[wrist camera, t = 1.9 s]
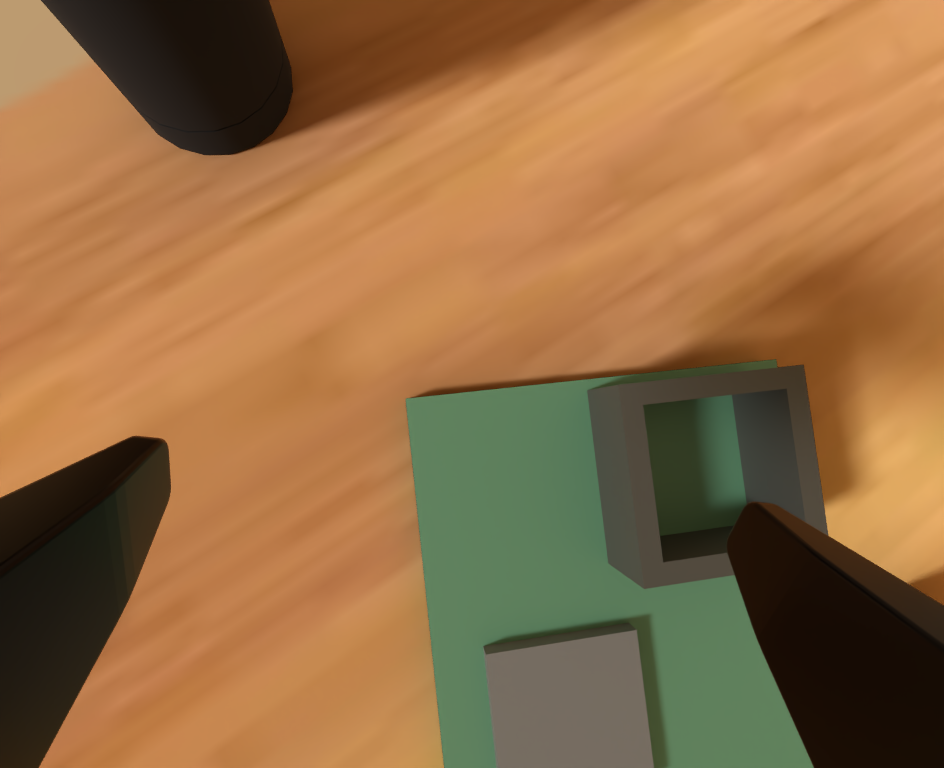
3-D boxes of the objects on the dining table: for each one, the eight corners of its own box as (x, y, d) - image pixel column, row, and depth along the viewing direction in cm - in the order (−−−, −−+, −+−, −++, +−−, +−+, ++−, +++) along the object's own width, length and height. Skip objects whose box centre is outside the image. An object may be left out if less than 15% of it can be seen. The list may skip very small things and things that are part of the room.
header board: (819, 773, 24) (912, 853, 20) (452, 848, 22) (463, 955, 18) (761, 361, 25) (837, 348, 21) (405, 399, 23) (404, 394, 19)
